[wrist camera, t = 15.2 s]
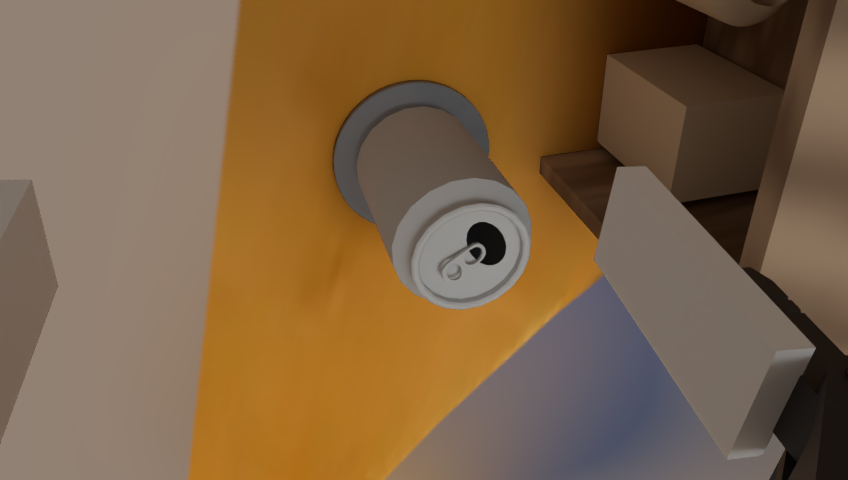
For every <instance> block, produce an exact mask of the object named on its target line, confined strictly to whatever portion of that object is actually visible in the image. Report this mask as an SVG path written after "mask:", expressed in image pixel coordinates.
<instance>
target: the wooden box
mask: <svg viewBox="0 0 848 480" xmlns="http://www.w3.org/2000/svg"><path fill="white" fill-rule="evenodd" d="M702 47H703V48H705V49H707V50H709V51H711V52H713V53H715V54H716V55H718V56H720V57H722V58H724V59H726V60H728V61H730V62H732V63H734V64H736V65H737V66H739V67H741V68H743V69H745V70H747V71H749V72H751V73H753V74H755V75H757V76H758V77H760V78H762V79H764V80H766V81H768V82H770V83H772V84H774V85H776V86H778V87H779V88H781V89H783V90H785V92H784V96H783V99H782V103H781V107H780V111H779V115H778V118H777V122H776V126H775V130H774V134H773V137H772V141H771V145H770V149H769V153H768V157H767V160H766V164H765V168H764V172H763V176H762V179H761V183H760V187H759V190H753V191H747V192H741V193H735V194H729V195H723V196H717V197H711V198H705V199H699V200H693V201H687V202H681V204H682V205H683V206H684V207H685V208H686V209H687V211H688V212H689V213H690V214H691V215H692V216H693V217H694V218H695V219H696V220H697V221H698V222H699V223H700V224H701V226H702V227H703V228H704V229H705V230H706V231H707V232H708V233H709V234H710V235H711V236H712V237H713V238H714V239H715V240H716V242H717V243H718V244H719V245H720V246H721V247H722V248H723V249H724V250H725V251H726V252H727V253H728V254H729V255H730V256H731V258H732V259H733V260H734V261H735V262H736V263H737V264H738V265H739V266H740V267H741V268H745V267H751V268H753V269H755V270H756V271H758V272H759V273H761V274H763V275H764V276H766V277H768V278H769V279H771V280H772V281H774V282H775V283H776V284H777V286H778V287H779V288H780V289H781V290H782V291H783V292H784V293H785V294H786V295H787V296H788V299H789V300H792V301H793V302H794V303H795V304H796V305H797V306H798V307H799V308H800V309H801V313H805V314H806V315H807V316H808V317H809V318H810V319H811V320H812V321H813V323H814V324H815V325H816V326H817V327H818V328H819V329H820V330H821V331H822V332H823V333H824V334H825V335H826V336H827V337H828V338H829V339H830V340H831V341H832V342H833V343H834V344H835V345H836V346H837V347H838V348H839V349H840V350H841V351H842V352H843V353H844V354H845V355H848V0H788V1H787V2H786V3H785V4H784V5H783V6H782V7H781V8H780V9H779V10H778V11H777V12H776V13H775V14H773V15H772V16H770V17H769V18H767V19H766V20H764V21H762V22H760V23H757V24H754V25H751V26H745V27H737V26H732V25H729V24H726V23H724V22H722V21H720V20H718V19H715V18H713V17H711V16H709V15H708V19H707V25H706V30H705V35H704V40H703V46H702ZM617 167H626V166H624V165H623V164H622V163H621V162H620V161H619V160H618V159H617V158H615V157H614V156H613V155H612V154H611V153H610V152H609V151H608V150H607V149H605V148H600V149H593V150H586V151H579V152H572V153H566V154H559V155H552V156H545V157H541V163H540V174H541V175H542V176H543V177H544V178H545V180H546V181H547V182H548V183H549V184H550V185H551V186H552V187H553V189H554V190H555V191H556V192H557V193H558V194H559V195H560V196H561V198H562V199H563V200H564V201H565V202H566V203H567V204H568V206H569V207H570V208H571V209H572V210H573V211H574V212H575V213H576V215H577V216H578V217H579V218H580V219H581V220H582V221H583V222H584V224H585V225H586V226H587V227H588V228H589V229H590V230H591V232H592V233H593V234H594V235H595V236H596V237H597V238H598V239H599V237H600V233H601V229H602V225H603V221H604V217H605V213H606V209H607V205H608V201H609V197H610V193H611V190H612V186H613V182H614V178H615V174H616V170H617Z"/></svg>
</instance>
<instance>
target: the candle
mask: <svg viewBox="0 0 848 480" xmlns="http://www.w3.org/2000/svg"><path fill="white" fill-rule="evenodd" d="M676 1H678V2H680V3H683V4H685V5H687V6H689V7H691V8H694V9H696V10H698V11H700V12H702V13H704V14H707V15H709V16H711V17H713V18H715V19H718V20H720V21H722V22H724V23H726V24H729V25H732V26H737V27H745V26H751V25H754V24H757V23H760V22H762V21H764V20H766V19H767V18H769V17H770V16H772V15H773V14H775V13H776V12H777V11H778V10H779V9H780V8H781V7H782V6H783V5H784V4H785V3H786V2H787V1H788V0H676Z"/></svg>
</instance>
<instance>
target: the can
mask: <svg viewBox="0 0 848 480" xmlns="http://www.w3.org/2000/svg"><path fill="white" fill-rule="evenodd" d="M357 175H358V182H359V185H360V187H361V190H362V192H363V194H364V197H365V199H366V202H367V204H368V206H369V209H370V211H371V214H372V216H373V218H374V221H375V223H376V226H377V228H378V230H379V233H380V235H381V238H382V240H383V242H384V245H385V247H386V250H387V252H388V254H389V257H390V259H391V262H392V264H393V266H394V268H395V270H396V272H397V275H398V277H399V279H400V281H401V282H402V283H403V284H404V285H405V286H406V287H407V288H408V289H409V290H410V291H412V292H413V293H414V294H415V295H418V296H420V297H423V298H425V299H427V300H428V301H429V302H431V303H433V304H436V305H438V306H441V307H443V308H448V309H462V310H463V309H468V308H473V307H478V306H482V305H484V304H486V303H488V302H490V301H492V300H495V299H497V298H498V297H500V296H501V295H502V294H503V293H505V292H506V291H507V290H508V289H510V288H511V287H512V286H513V285H514V284H515V282H516V281H517V280H518V278H519V277H520V276H521V274H522V273H523V272H524V269H525V267H526V264H527V262H528V259H529V257H530V243H531V239H530V235H531V220H530V216H529V213H528V210H527V207H526V204H525V203H524V202H523V200H522V199H521V198H520V197H519V195H518V194H517V193H516V192H515V190H514V189H513V188H512V186H511V185H510V184H509V183H508V181H507V180H506V179H505V178H504V176H503V175H502V174H501V172H500V171H499V170H498V169H497V167H496V166H495V165H494V164H493V162H492V161H491V160H490V158H489V157H488V156H487V155H486V153H485V152H484V151H483V150H482V148H481V147H480V146H479V145H478V143H477V142H476V141H475V139H474V138H473V137H472V136H471V134H470V133H469V132H468V131H467V129H466V128H465V127H464V126H463V125H462V123H461V122H460V121H459V120H458V119H457V118H456V117H454V116H452V115H451V114H449V113H447V112H445V111H444V110H442V109H436V108H430V107H425V106H422V107H415V108H407V109H403V110H401V111H399V112H396V113H394V114H392V115H390V116H388V117H386V118H385V119H384V120H382V121H381V122H380V123H379V124H378V125H377V126H375V127H374V128H373V129H372V130H371V131H370V133H369V134H368V136H367V138H366V139H365V141H364V142H363V144H362V146H361V148H360V152H359V156H358V160H357Z"/></svg>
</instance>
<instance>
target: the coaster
mask: <svg viewBox="0 0 848 480" xmlns="http://www.w3.org/2000/svg"><path fill="white" fill-rule="evenodd" d="M422 106H425V107H430V108H436V109H442V110H444V111H445V112H447V113H449V114H451V115H452V116H454V117H456V118H457V119H458V120H459V121H460V122H461V123H462V125H463V126H464V127H465V128H466V129H467V131H468V132H469V133H470V134H471V136H472V137H473V138H474V139H475V141H476V142H477V143H478V145H479V146H480V147H481V148H482V150H483V151H484V152H485V153H486V155H487V156H488V153H489V141H488V135H487V130H486V127H485V124H484V122H483V120H482V118H481V116H480V114H479V113H478V111H477V110H476V109H475V107H474V106H473V105H472V104H471V103H470V102H469V101H468V100H467V99H466V98H465V97H464V96H463V95H462V94H460V93H459V92H458V91H456V90H454V89H452V88H450V87H449V86H446V85H443V84H440V83H437V82H432V81H424V80H412V81H404V82H399V83H395V84H392V85H389V86H386V87H384V88H382V89H380V90H378V91H376V92H374V93H373V94H371V95H369V96H368V97H367V98H365V99H364V100H363V101H362V102H360V103H359V104H358V105H357V106H356V107H355V108H354V109H353V111H352V112H351V113H350V114H349V116H348V117H347V118H346V120H345V121H344V123H343V125H342V127H341V128H340V131H339V133H338V136H337V138H336V142H335V146H334V153H333V169H334V175H335V178H336V181H337V185H338V187H339V190H340V192H341V194H342V196H343V198H344V199H345V201H346V202H347V203H348V205H349V206H350V207H351V208H352V209H353V210H354V211H355V212H356V213H357V214H359V215H360V216H361V217H363V218H365V219H366V220H368V221H370V222H372V223H375V221H374V218H373V216H372V214H371V211H370V209H369V206H368V204H367V202H366V199H365V197H364V194H363V192H362V190H361V187H360V185H359V182H358V175H357V160H358V156H359V152H360V148H361V146H362V144H363V142H364V141H365V139H366V138H367V136H368V134H369V133H370V131H371V130H372V129H373V128H374V127H375V126H377V125H378V124H379V123H380V122H381V121H382V120H384V119H385V118H386V117H388V116H390V115H392V114H394V113H396V112H399V111H401V110H403V109H407V108H415V107H422ZM375 224H376V223H375Z"/></svg>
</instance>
